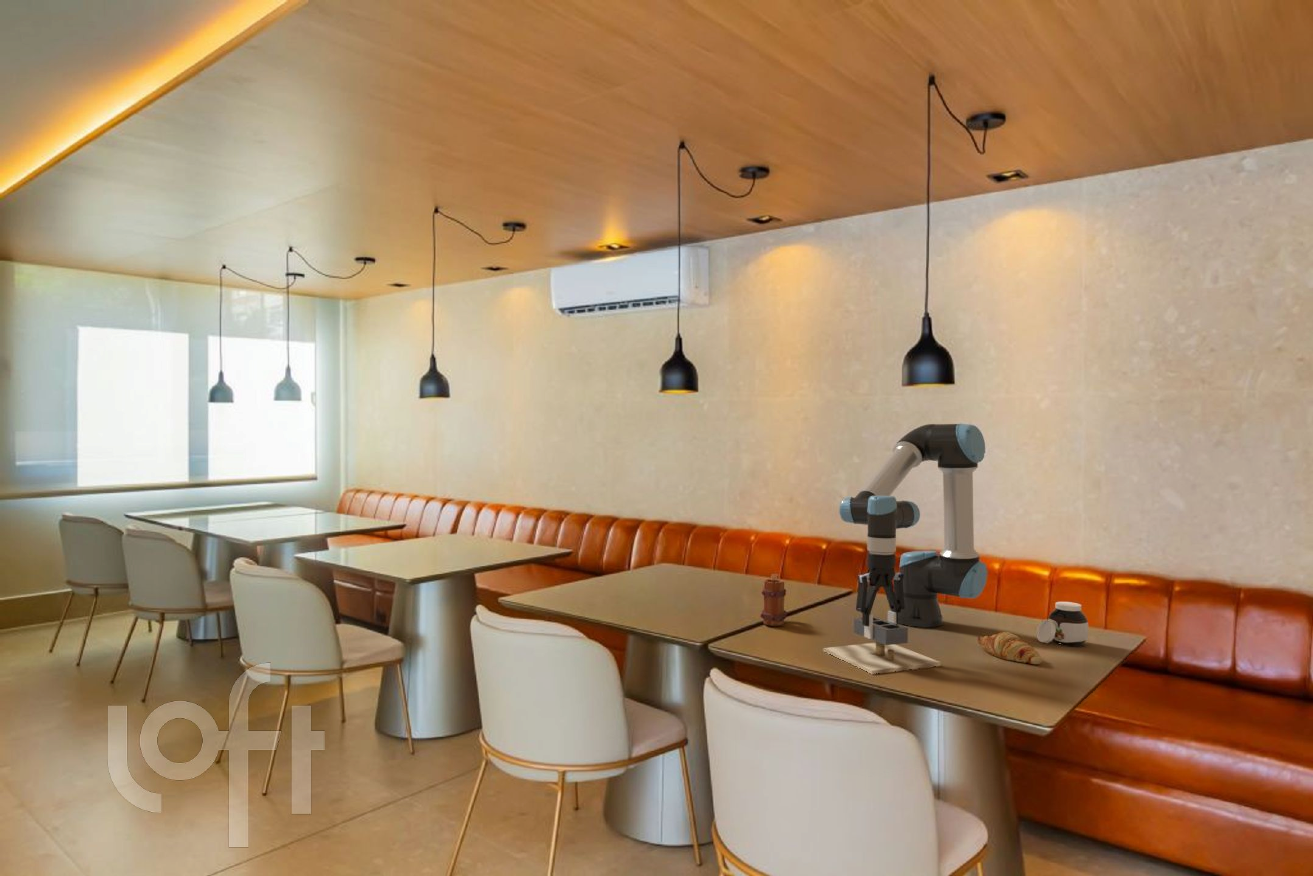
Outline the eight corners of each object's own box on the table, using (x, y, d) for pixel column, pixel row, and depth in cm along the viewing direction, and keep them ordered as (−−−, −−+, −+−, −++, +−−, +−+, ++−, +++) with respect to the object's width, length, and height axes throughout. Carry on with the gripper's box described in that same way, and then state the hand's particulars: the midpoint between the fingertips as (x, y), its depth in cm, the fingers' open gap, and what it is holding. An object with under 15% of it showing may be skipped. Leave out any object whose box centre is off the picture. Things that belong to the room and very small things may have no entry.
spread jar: (1092, 645, 230) (1092, 606, 230) (1069, 651, 224) (1069, 610, 224) (1053, 636, 240) (1053, 598, 240) (1030, 641, 234) (1031, 602, 234)
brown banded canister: (785, 629, 246) (786, 581, 246) (759, 627, 247) (760, 580, 247) (787, 618, 260) (788, 573, 260) (762, 617, 262) (763, 571, 261)
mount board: (887, 644, 229) (887, 622, 229) (940, 665, 208) (940, 641, 208) (822, 651, 221) (823, 628, 220) (871, 674, 200) (872, 649, 200)
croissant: (1048, 678, 210) (1058, 651, 211) (1025, 665, 206) (1036, 637, 207) (984, 656, 229) (994, 631, 230) (962, 643, 225) (972, 617, 226)
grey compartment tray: (907, 642, 209) (907, 627, 209) (885, 645, 206) (886, 630, 206) (874, 630, 222) (874, 616, 222) (853, 632, 219) (854, 618, 219)
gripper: (902, 549, 221) (900, 630, 221) (842, 552, 214) (841, 636, 214) (920, 552, 214) (918, 637, 214) (859, 556, 207) (857, 643, 207)
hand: (880, 636), depth 214 cm, fingers closed on grey compartment tray, 7 cm apart
